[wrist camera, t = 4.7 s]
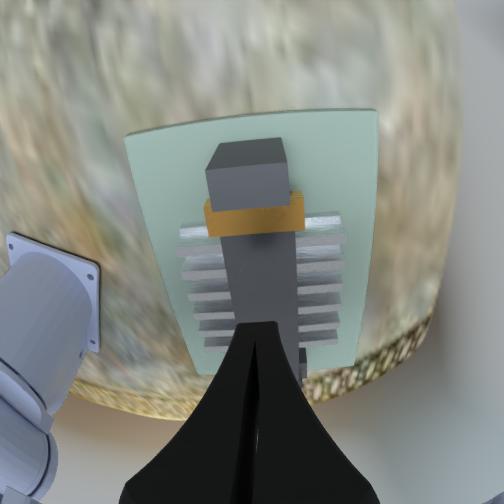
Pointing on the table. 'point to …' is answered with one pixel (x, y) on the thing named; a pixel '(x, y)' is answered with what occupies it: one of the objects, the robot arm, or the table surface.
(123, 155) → the table surface
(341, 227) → the heat sink
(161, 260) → the socket board
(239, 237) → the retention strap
